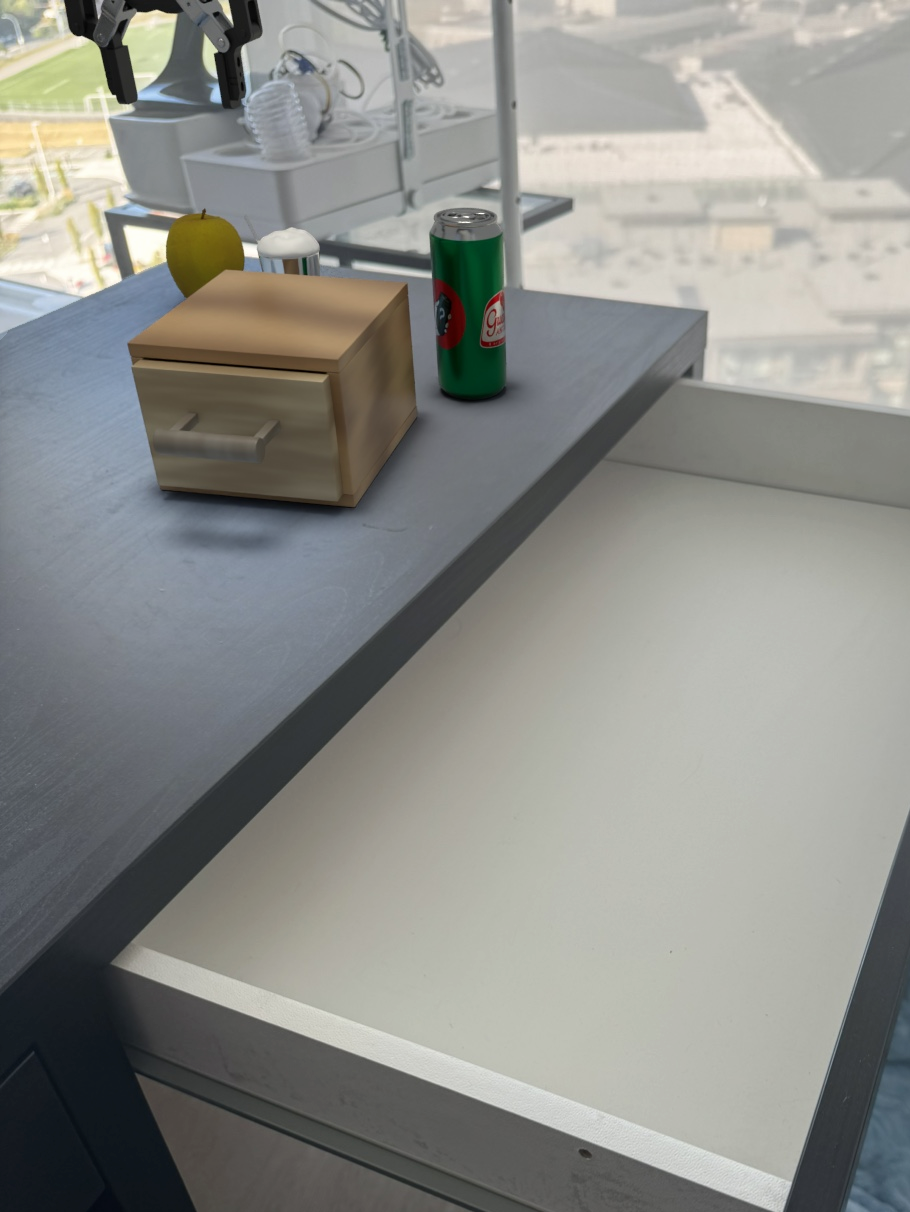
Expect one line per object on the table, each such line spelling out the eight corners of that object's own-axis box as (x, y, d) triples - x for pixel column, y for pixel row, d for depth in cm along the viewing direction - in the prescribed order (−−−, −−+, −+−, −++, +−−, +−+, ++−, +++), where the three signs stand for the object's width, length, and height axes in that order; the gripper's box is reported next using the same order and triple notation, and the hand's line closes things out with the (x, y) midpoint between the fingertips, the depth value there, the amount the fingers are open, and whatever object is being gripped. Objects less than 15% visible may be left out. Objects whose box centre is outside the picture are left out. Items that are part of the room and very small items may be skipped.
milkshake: (277, 342, 93) (257, 207, 87) (340, 349, 93) (325, 213, 86) (253, 362, 90) (231, 223, 84) (319, 369, 89) (301, 228, 83)
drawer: (313, 534, 67) (296, 411, 62) (126, 517, 68) (94, 394, 63) (399, 415, 80) (390, 306, 76) (241, 402, 82) (222, 294, 77)
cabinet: (354, 507, 72) (337, 359, 66) (160, 489, 73) (126, 342, 67) (417, 416, 83) (407, 282, 77) (247, 401, 84) (225, 269, 78)
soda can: (498, 405, 85) (493, 227, 77) (430, 399, 85) (419, 222, 78) (513, 380, 88) (510, 208, 81) (449, 374, 89) (439, 203, 81)
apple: (232, 321, 97) (215, 217, 92) (162, 313, 98) (141, 211, 93) (265, 297, 102) (250, 198, 97) (197, 291, 103) (179, 192, 98)
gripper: (249, -163, 82) (284, 100, 93) (60, -167, 84) (115, 92, 94) (207, -161, 77) (249, 119, 87) (4, -166, 78) (70, 110, 88)
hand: (180, 105), depth 91 cm, fingers open, 8 cm apart
